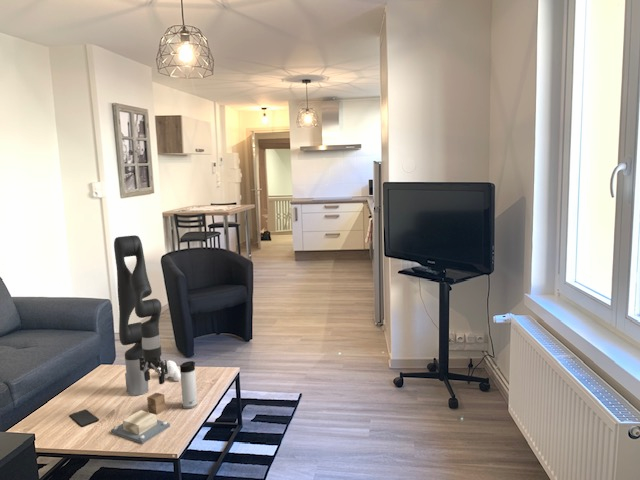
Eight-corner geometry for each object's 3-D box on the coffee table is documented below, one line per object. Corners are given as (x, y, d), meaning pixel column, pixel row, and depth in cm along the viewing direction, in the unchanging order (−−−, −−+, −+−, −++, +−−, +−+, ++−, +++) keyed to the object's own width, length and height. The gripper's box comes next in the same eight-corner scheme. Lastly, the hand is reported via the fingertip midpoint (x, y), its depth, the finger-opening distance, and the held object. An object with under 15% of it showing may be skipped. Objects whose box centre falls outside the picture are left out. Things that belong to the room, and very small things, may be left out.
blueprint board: (110, 432, 191) (110, 428, 190) (139, 416, 203) (138, 412, 203) (142, 443, 182) (142, 438, 182) (170, 426, 194) (169, 421, 194)
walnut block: (148, 412, 207) (147, 397, 206) (157, 407, 211) (156, 392, 210) (156, 415, 204) (155, 399, 203) (165, 409, 209) (164, 394, 208)
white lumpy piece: (172, 357, 245) (185, 365, 237) (173, 372, 247) (185, 381, 239) (161, 361, 241) (174, 369, 233) (161, 376, 242) (174, 385, 235)
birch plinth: (123, 429, 191) (122, 420, 190) (141, 419, 198) (140, 410, 198) (139, 434, 186) (138, 425, 186) (157, 424, 194) (156, 414, 194)
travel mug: (194, 409, 208) (191, 365, 205) (180, 408, 209) (177, 365, 206) (200, 402, 214) (197, 360, 211) (187, 401, 215) (183, 359, 212)
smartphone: (85, 408, 211) (99, 419, 201) (85, 410, 211) (100, 421, 201) (68, 415, 206) (81, 426, 195) (68, 417, 206) (81, 428, 196)
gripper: (132, 346, 204) (136, 382, 206) (156, 350, 197) (159, 388, 199) (146, 340, 210) (149, 376, 212) (170, 345, 203) (173, 381, 205)
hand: (154, 382), depth 206 cm, fingers open, 8 cm apart
